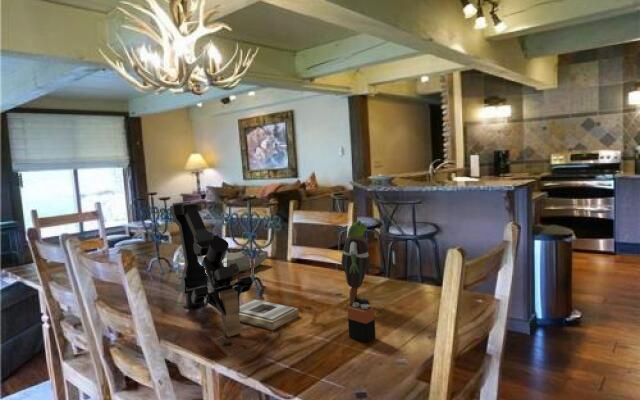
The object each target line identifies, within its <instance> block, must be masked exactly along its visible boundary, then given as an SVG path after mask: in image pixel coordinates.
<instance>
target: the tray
mask: <svg viewBox="0 0 640 400" xmlns="http://www.w3.org/2000/svg"><path fill="white" fill-rule="evenodd" d="M299 316H300V313H299V308H297V307H294V306H293V307H292V306H287V305H283V304H278V303H273V302H269V301H268V302H267V301H264V300H259V299H253V300H251V301H249V302H246V303H244V304H242V305H240V311H239V318H240V323H244V324H248V325H253V326H255V327H259V328H264V329H266V330H270V331H271V330H272V331H273V330H275V329H278V328H279V327H281V326H283V325H285V324H286V323H289V322H290V321H292V320H294V319H297V317H299Z"/></svg>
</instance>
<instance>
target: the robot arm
mask: <svg viewBox="0 0 640 400" xmlns="http://www.w3.org/2000/svg"><path fill="white" fill-rule="evenodd" d="M169 213H170V216H171V217H172V221H173V222H174V223H175V225H177V226H178V231H179V235H180V236H179V237H180V240H181V242H180V243H181V246H182V252H183V258H184V263H185V264H184V267H183V270H182V278H181V280H180V284H179V288H180V292H181V293H183V294H184V295H185V301H186V304H185V305H183V308H185V309H188V310H193V311H195V310H197V309H200V308H202V307H205V306H207V305H211V306H212V307H213V308H215V309H216V310H217V311H218V312H219V313H220V314H221V315H222V314H223V315H224V316H226V312H225V309H224V307H223V304H222V302H221V300H220V292H221V291H225V290H229V289H234V290H235V291H237V292H238V305H239V311H240V306H241V304H240V296H241V294H242V293H246V292H249V291H250V290H251V288H252V286H253V284H254V280H253V277H251V276H250V275H245V276H240V277H238V279H237V281H236V282H233V283H231V282H232V281H233V280H234V279H233V277H235V276H236V274H239V273H240V271H239V267H238V265H237V263H233V264H231V265H230V266H229V267H224V266H223V263H222V260H223V259H224V258H225V255H226V254H227V252H228V249H229V242H228V241H227V240H226V239H225V238H222V237H220V235H218V234H217V235H215V234H214V233H212V232H210V231H209V230H208V229H207V227H206V225H205V223H204V221H203V218H202V216H201V214H200V212H199V207H198V204H197V203H195V202H191V201H189V200H188V201H180V202H173V203H172V205H170V206H169ZM199 257H203V258H202V262H201V263H202V264H201V263H200V261H199ZM202 265H203V266H202ZM204 267H205V268H204ZM205 270H206V273H207V274H206V273H205ZM208 283H210V287H208Z"/></svg>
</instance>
